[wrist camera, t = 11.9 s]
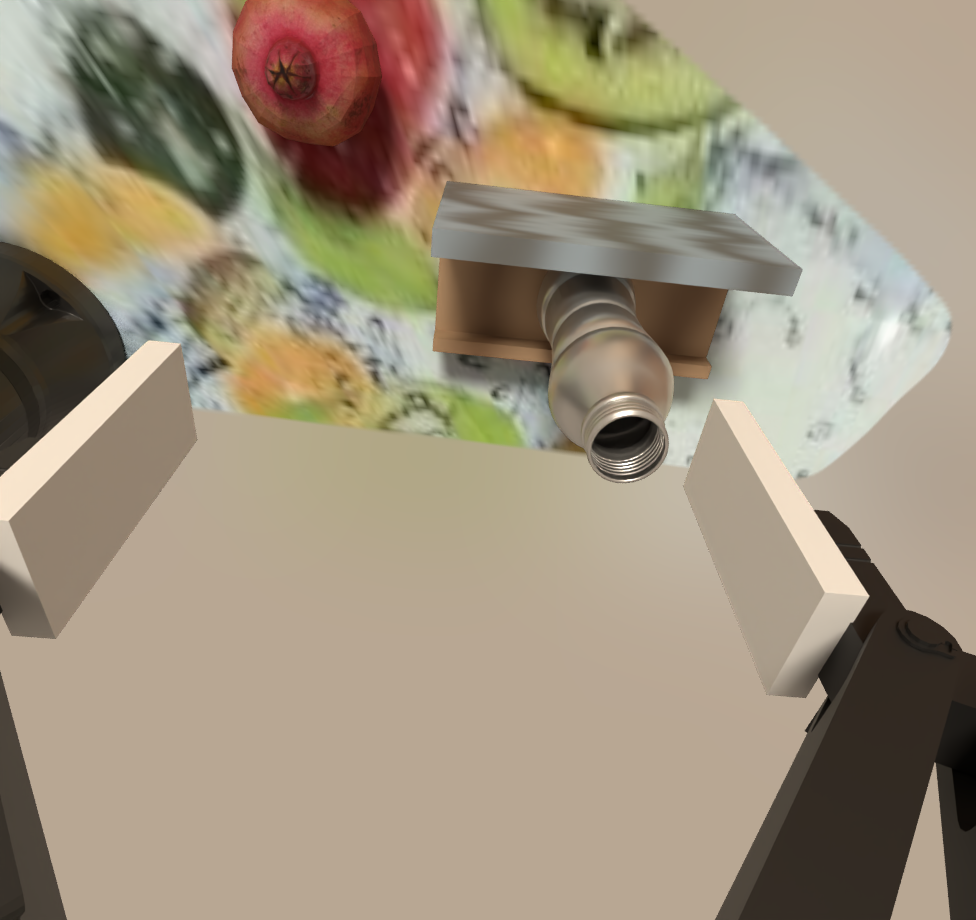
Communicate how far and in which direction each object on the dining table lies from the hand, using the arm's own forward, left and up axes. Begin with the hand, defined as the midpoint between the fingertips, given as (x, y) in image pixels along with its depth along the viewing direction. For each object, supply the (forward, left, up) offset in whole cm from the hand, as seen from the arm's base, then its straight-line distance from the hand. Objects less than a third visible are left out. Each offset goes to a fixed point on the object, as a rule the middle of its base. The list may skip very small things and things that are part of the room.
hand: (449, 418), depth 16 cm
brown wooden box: (+8, -6, -33) cm, 34 cm away
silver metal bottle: (+8, -6, -30) cm, 32 cm away
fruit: (-10, +5, -33) cm, 35 cm away
